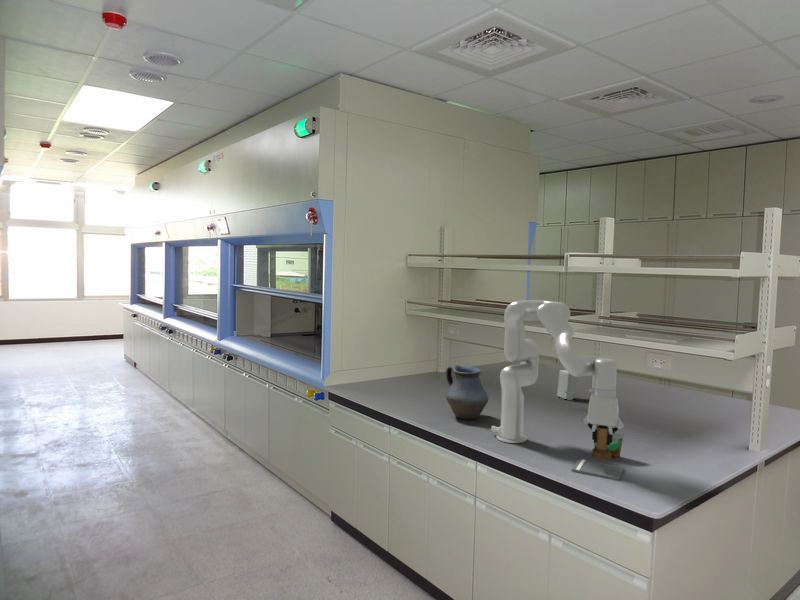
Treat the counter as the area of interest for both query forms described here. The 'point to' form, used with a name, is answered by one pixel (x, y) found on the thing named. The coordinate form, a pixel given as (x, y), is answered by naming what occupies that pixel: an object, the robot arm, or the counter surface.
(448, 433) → the counter surface
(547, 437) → the counter surface
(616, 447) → the food container
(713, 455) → the counter surface
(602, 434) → the brown wooden turned post
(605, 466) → the mat
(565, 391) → the skincare box
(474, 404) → the pitcher
